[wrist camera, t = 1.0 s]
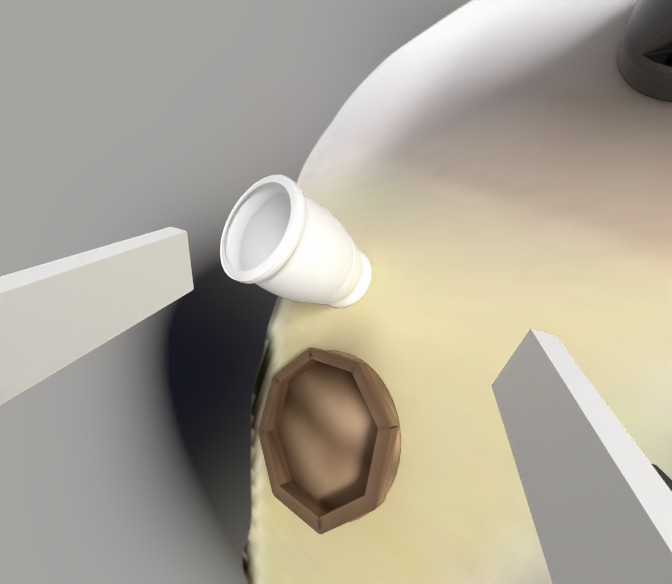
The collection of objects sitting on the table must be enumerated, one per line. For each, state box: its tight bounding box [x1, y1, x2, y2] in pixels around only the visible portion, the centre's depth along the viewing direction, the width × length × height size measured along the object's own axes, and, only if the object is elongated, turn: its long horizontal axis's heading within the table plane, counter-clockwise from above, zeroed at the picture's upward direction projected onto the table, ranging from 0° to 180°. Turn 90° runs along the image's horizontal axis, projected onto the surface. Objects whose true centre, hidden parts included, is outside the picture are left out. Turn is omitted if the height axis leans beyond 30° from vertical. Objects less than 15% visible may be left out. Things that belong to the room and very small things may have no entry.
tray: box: [258, 348, 401, 534], centre depth 29 cm, size 17×17×3 cm
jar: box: [220, 175, 371, 308], centre depth 29 cm, size 11×10×15 cm
